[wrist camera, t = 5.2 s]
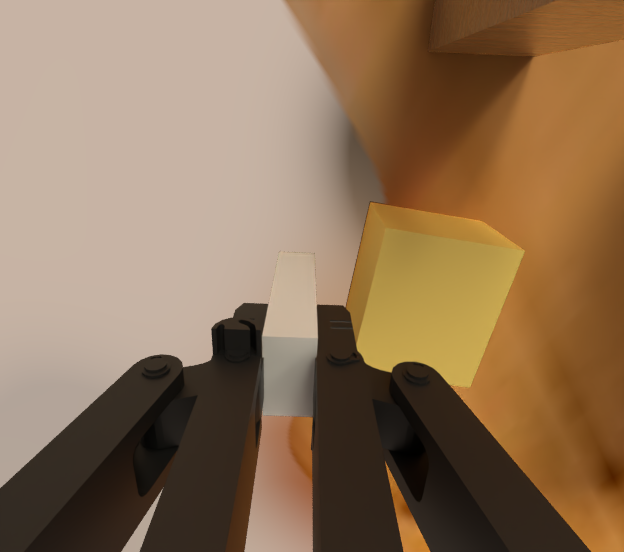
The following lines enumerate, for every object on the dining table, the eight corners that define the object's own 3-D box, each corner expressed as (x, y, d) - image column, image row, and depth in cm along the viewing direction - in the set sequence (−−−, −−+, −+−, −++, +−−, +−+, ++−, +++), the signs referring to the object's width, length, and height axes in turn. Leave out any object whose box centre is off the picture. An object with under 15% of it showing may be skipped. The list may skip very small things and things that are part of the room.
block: (369, 201, 17) (386, 228, 14) (480, 219, 18) (525, 251, 14) (342, 320, 20) (349, 371, 16) (440, 335, 20) (469, 387, 16)
